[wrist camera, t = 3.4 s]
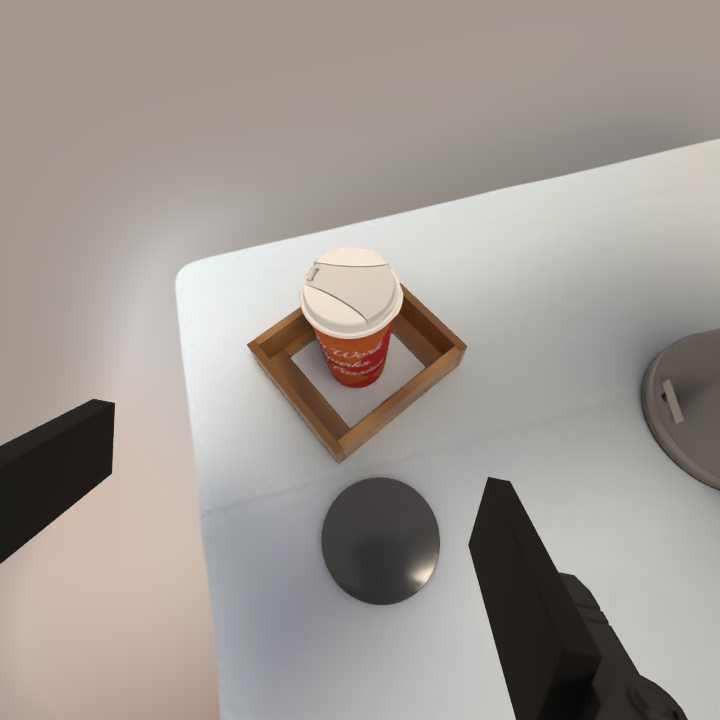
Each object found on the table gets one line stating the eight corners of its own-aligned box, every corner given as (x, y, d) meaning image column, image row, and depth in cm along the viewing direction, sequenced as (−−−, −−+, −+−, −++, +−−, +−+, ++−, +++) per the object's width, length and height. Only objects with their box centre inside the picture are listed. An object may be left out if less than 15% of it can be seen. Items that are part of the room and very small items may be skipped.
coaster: (386, 455, 40) (386, 454, 40) (463, 546, 37) (464, 546, 36) (299, 529, 38) (298, 529, 37) (373, 634, 34) (373, 635, 34)
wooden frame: (372, 279, 49) (372, 256, 45) (459, 363, 44) (467, 346, 40) (256, 361, 45) (246, 344, 41) (339, 464, 40) (335, 454, 36)
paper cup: (308, 385, 43) (279, 312, 31) (334, 321, 46) (319, 231, 34) (382, 408, 42) (385, 343, 29) (405, 341, 45) (416, 255, 32)
